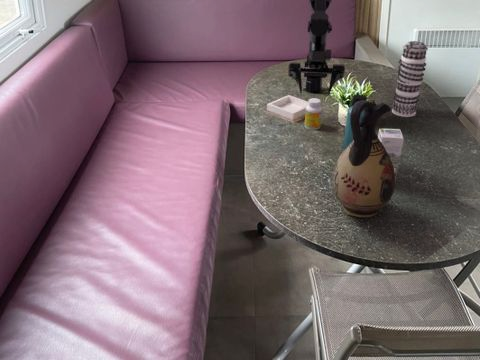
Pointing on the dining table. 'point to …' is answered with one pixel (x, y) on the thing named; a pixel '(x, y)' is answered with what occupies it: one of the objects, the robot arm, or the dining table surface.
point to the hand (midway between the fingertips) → (314, 93)
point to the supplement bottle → (313, 114)
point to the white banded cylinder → (409, 79)
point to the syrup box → (392, 145)
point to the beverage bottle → (348, 130)
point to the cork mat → (286, 119)
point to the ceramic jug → (364, 165)
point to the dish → (288, 108)
